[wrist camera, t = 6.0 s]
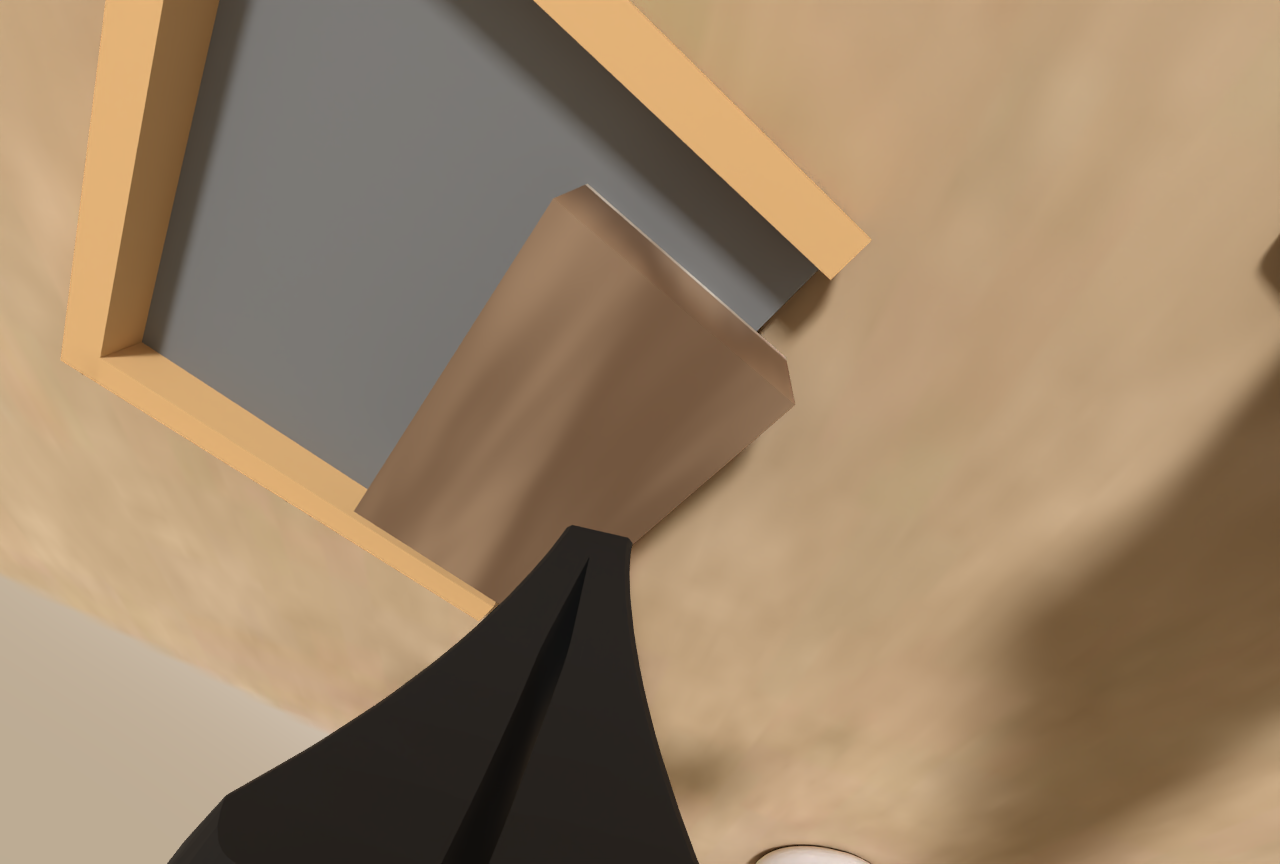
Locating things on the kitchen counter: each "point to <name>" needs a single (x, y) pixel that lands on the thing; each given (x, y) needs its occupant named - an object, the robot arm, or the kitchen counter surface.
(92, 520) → the kitchen counter surface
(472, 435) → the slab
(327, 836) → the robot arm
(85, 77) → the kitchen counter surface
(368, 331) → the chalkboard
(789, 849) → the supplement bottle
